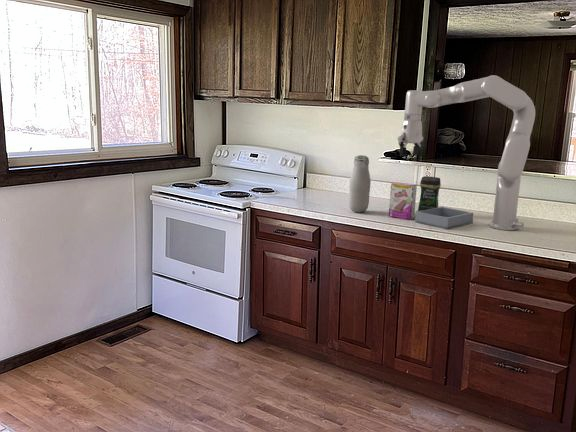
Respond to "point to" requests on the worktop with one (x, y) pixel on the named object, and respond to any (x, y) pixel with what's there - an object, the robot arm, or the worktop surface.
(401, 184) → the candy bar box
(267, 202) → the worktop surface
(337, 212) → the worktop surface
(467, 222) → the tray
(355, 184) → the grey bottle
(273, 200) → the worktop surface
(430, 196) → the coffee jar
